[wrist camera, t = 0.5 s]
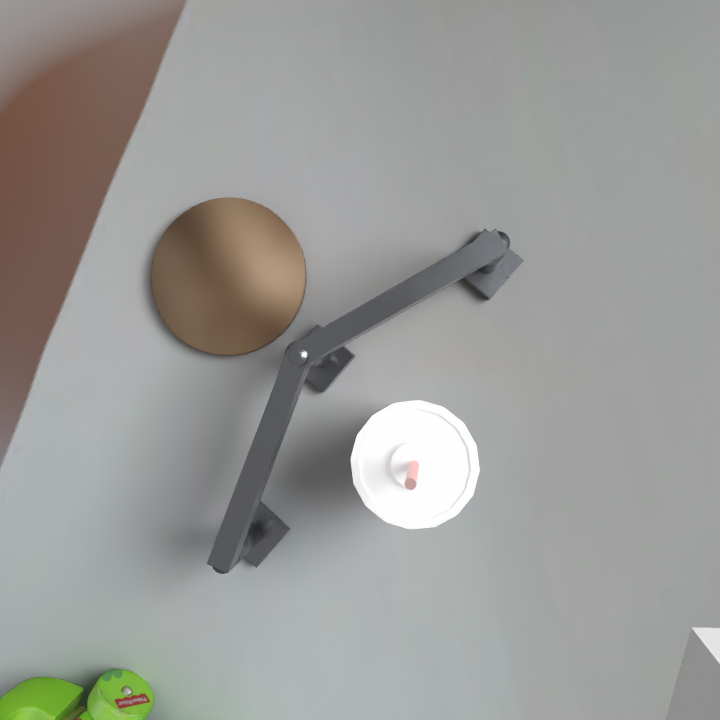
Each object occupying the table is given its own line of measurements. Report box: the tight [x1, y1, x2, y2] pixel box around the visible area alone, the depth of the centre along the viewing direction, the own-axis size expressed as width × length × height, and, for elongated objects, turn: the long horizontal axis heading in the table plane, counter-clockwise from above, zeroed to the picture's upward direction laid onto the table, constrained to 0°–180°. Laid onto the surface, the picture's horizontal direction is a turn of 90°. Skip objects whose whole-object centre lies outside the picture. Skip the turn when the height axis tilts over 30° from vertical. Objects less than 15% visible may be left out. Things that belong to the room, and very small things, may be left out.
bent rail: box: [207, 229, 523, 574], centre depth 35 cm, size 25×7×7 cm, turn 139°
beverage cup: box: [350, 400, 480, 529], centre depth 31 cm, size 6×6×14 cm
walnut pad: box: [151, 198, 306, 355], centre depth 39 cm, size 10×10×1 cm
